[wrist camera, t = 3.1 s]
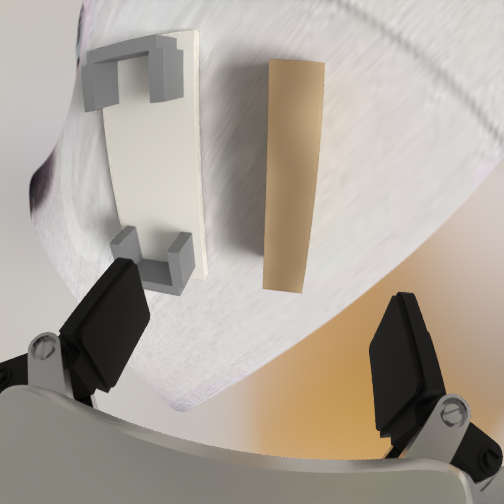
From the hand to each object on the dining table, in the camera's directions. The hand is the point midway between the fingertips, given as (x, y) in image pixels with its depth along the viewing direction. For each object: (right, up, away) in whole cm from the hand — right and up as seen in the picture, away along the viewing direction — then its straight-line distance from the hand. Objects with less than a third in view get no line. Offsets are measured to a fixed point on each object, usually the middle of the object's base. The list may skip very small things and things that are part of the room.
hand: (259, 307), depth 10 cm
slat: (+3, +8, +10) cm, 13 cm away
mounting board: (-8, +9, +12) cm, 17 cm away
